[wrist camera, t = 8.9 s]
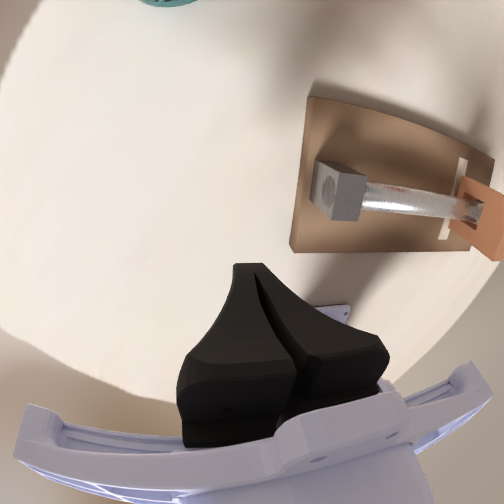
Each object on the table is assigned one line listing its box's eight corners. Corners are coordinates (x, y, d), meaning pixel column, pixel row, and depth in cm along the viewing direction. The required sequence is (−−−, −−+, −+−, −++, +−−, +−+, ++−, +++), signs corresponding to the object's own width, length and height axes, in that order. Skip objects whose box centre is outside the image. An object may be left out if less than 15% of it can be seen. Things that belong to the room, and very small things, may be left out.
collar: (459, 228, 22) (502, 260, 17) (447, 227, 22) (492, 261, 16) (473, 179, 20) (521, 205, 14) (461, 175, 19) (512, 201, 14)
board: (461, 245, 27) (469, 251, 25) (288, 244, 23) (294, 253, 21) (486, 156, 21) (495, 159, 20) (307, 97, 17) (315, 96, 16)
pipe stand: (478, 217, 23) (501, 233, 20) (308, 199, 19) (330, 220, 16) (485, 194, 22) (509, 208, 18) (314, 159, 18) (339, 172, 15)
